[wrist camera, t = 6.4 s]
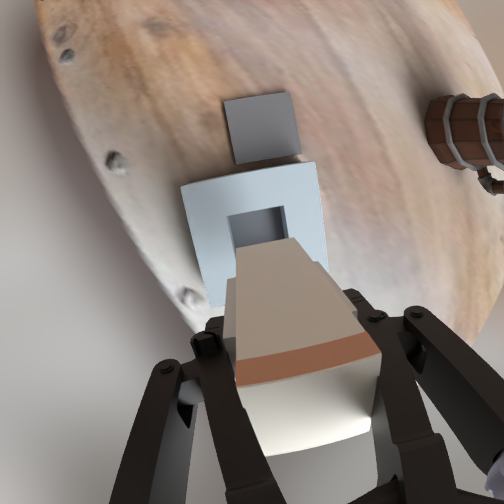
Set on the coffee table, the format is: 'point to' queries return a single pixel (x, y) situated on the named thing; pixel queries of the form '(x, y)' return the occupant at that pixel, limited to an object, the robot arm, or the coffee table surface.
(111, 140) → the coffee table surface
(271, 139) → the mat
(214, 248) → the socket block
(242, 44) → the coffee table surface
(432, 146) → the mug
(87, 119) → the coffee table surface
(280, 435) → the peg
